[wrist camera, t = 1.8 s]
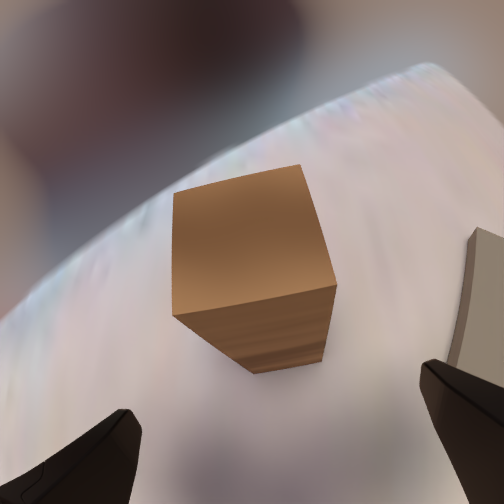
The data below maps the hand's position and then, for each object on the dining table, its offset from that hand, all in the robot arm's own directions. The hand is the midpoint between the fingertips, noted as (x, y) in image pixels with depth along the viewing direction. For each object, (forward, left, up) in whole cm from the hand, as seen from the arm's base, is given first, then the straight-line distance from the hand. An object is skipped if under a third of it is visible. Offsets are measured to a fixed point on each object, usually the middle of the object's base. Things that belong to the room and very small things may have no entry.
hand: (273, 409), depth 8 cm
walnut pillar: (+5, -2, -12) cm, 13 cm away
